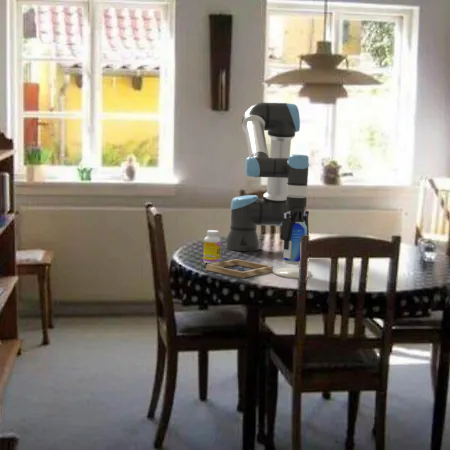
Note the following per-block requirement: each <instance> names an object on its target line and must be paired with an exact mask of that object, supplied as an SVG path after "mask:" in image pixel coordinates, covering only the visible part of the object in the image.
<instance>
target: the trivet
mask: <svg viewBox="0 0 450 450" xmlns="http://www.w3.org/2000/svg"><path fill="white" fill-rule="evenodd" d="M299 269H300V268H297V267H281V268H275V269H273V274H274V276H278V277H281V278H288V279H299V278H298V272H299ZM310 277H312V272H311V271H310V270H308V277H307V278H310Z"/></svg>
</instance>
